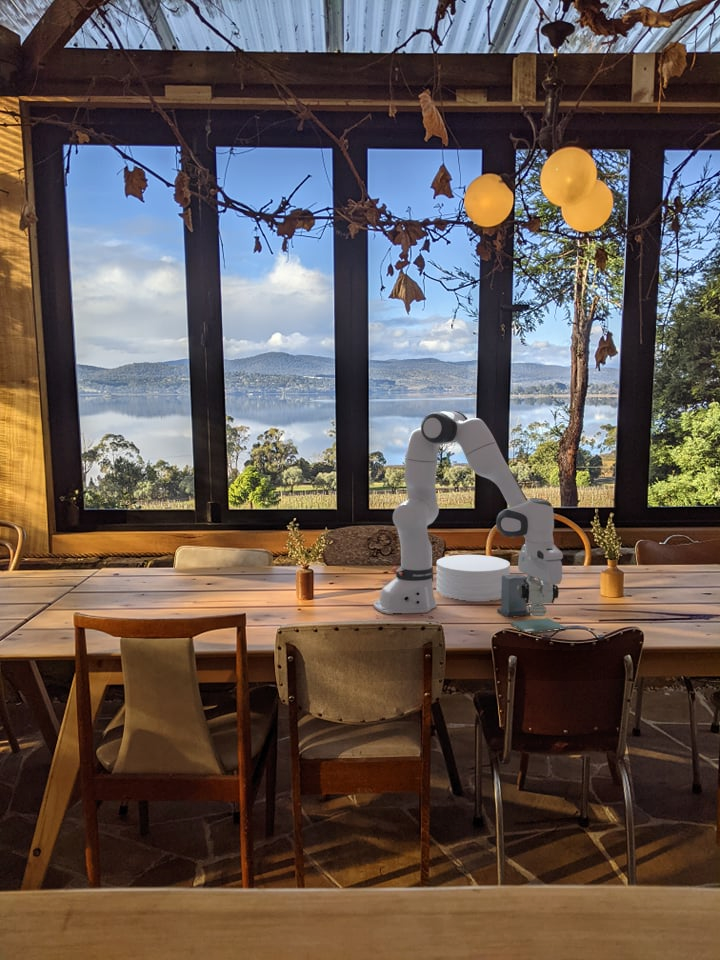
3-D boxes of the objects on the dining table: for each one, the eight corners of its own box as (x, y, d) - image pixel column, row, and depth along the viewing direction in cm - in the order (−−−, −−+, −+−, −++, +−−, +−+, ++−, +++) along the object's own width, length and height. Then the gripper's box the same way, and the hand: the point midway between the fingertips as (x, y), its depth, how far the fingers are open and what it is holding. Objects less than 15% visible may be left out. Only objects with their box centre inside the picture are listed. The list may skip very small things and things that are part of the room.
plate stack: (425, 596, 258) (425, 566, 256) (451, 579, 282) (451, 552, 281) (497, 605, 245) (498, 574, 243) (517, 587, 269) (518, 558, 268)
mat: (526, 634, 213) (526, 631, 213) (510, 624, 223) (510, 621, 223) (565, 629, 217) (565, 626, 217) (547, 620, 227) (547, 617, 227)
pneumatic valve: (517, 611, 223) (519, 576, 221) (552, 611, 223) (555, 576, 221) (521, 617, 217) (523, 582, 215) (557, 618, 217) (560, 582, 215)
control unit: (507, 618, 230) (507, 579, 228) (497, 612, 236) (497, 574, 235) (530, 615, 232) (531, 577, 231) (520, 609, 239) (520, 572, 237)
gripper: (513, 543, 226) (513, 584, 228) (548, 556, 207) (547, 600, 208) (530, 542, 228) (529, 582, 229) (566, 554, 209) (565, 598, 210)
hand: (538, 591), depth 219 cm, fingers closed on pneumatic valve, 5 cm apart
